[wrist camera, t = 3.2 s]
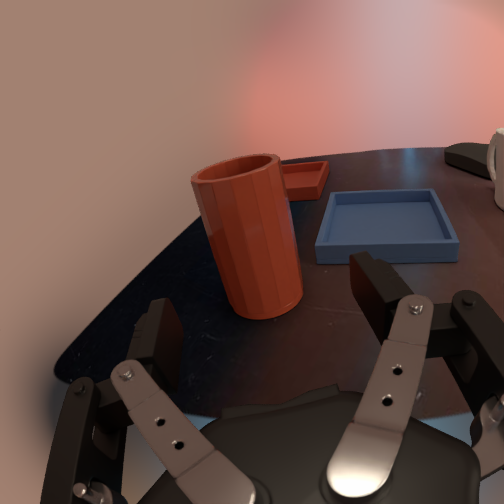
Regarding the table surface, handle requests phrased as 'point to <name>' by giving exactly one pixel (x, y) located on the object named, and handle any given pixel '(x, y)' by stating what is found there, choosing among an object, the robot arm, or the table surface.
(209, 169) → the red cup
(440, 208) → the blue tray
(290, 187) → the red tray
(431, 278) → the table surface
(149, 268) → the table surface
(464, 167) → the media streaming box
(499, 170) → the mug
